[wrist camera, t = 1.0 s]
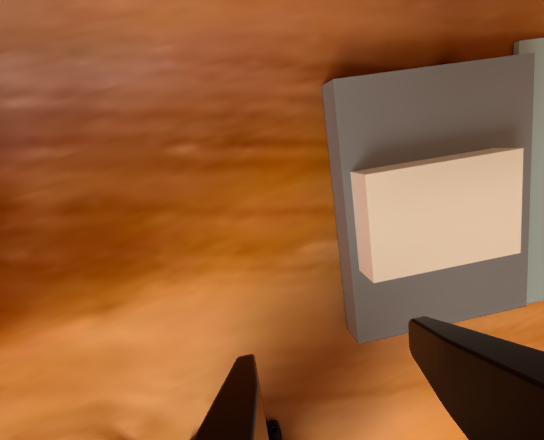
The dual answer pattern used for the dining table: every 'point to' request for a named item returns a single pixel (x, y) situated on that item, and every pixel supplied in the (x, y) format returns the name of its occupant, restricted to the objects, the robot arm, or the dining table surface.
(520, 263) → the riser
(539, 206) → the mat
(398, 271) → the tile
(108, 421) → the dining table surface
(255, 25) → the dining table surface
